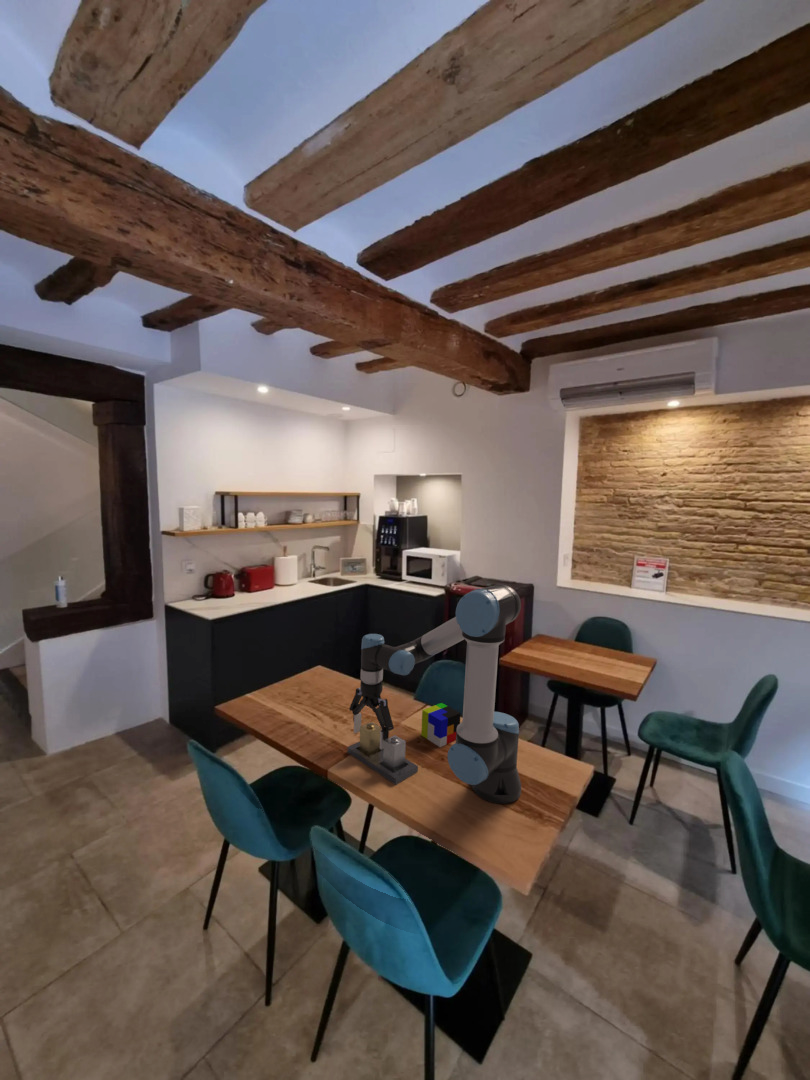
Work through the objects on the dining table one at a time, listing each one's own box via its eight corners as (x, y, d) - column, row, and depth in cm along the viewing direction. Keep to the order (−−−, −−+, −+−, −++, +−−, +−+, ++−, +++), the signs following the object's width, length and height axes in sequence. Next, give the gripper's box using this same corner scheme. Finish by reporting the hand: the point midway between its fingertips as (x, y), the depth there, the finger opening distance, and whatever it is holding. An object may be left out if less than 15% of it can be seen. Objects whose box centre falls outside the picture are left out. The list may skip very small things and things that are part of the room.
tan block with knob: (379, 754, 156) (380, 725, 155) (368, 760, 153) (369, 730, 152) (370, 748, 160) (371, 720, 159) (359, 754, 156) (360, 725, 155)
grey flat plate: (417, 771, 147) (417, 765, 147) (395, 785, 140) (395, 778, 140) (369, 741, 164) (369, 736, 164) (347, 752, 157) (347, 746, 157)
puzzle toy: (439, 747, 162) (441, 720, 161) (421, 735, 170) (422, 709, 169) (459, 738, 169) (460, 712, 168) (440, 727, 176) (441, 702, 175)
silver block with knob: (404, 770, 148) (405, 739, 147) (393, 776, 144) (394, 745, 143) (394, 763, 151) (394, 733, 150) (382, 769, 148) (383, 739, 147)
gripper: (405, 688, 148) (403, 750, 150) (356, 666, 165) (355, 722, 167) (388, 695, 142) (386, 759, 144) (340, 672, 160) (339, 729, 162)
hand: (370, 739), depth 156 cm, fingers open, 13 cm apart
